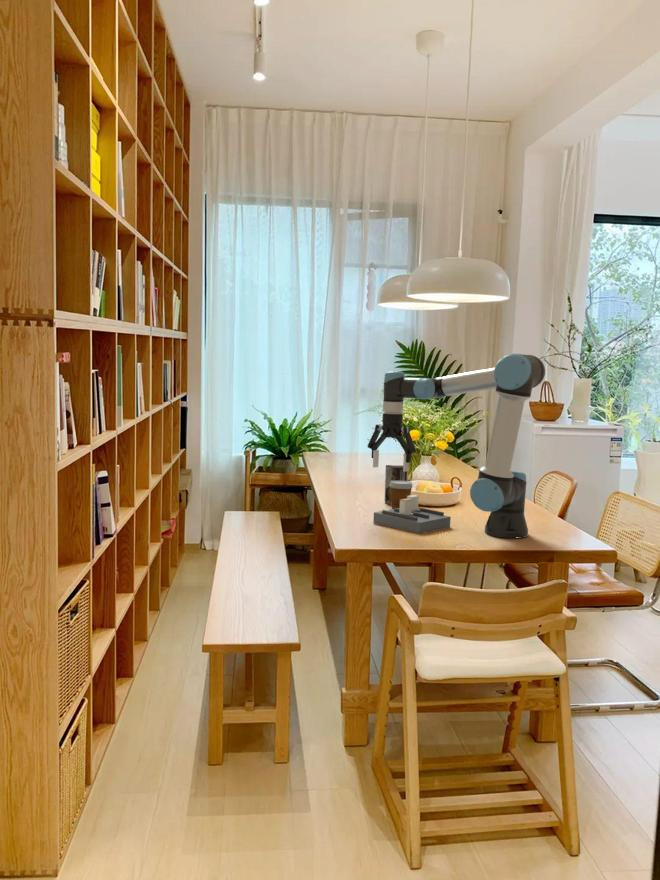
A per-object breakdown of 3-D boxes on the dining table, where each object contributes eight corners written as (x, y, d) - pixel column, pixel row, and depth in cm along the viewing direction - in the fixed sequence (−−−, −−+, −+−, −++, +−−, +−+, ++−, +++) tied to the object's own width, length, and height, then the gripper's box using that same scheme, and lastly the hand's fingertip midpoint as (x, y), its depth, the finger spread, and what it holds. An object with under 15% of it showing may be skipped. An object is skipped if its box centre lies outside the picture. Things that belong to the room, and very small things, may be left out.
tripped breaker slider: (413, 515, 278) (414, 499, 278) (405, 516, 275) (405, 501, 274) (405, 513, 281) (406, 497, 281) (396, 514, 278) (397, 499, 277)
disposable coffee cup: (391, 513, 302) (393, 483, 300) (385, 508, 311) (386, 480, 310) (414, 513, 304) (416, 484, 302) (407, 508, 313) (409, 480, 312)
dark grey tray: (450, 527, 280) (451, 501, 279) (419, 533, 267) (420, 506, 266) (404, 517, 295) (405, 492, 294) (373, 522, 283) (374, 496, 282)
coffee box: (404, 502, 328) (406, 465, 326) (405, 504, 322) (407, 467, 320) (383, 501, 328) (385, 464, 326) (384, 504, 322) (386, 466, 320)
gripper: (426, 414, 278) (424, 471, 280) (371, 410, 293) (368, 464, 295) (416, 415, 272) (413, 473, 274) (359, 411, 287) (357, 466, 289)
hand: (390, 469), depth 284 cm, fingers open, 13 cm apart
